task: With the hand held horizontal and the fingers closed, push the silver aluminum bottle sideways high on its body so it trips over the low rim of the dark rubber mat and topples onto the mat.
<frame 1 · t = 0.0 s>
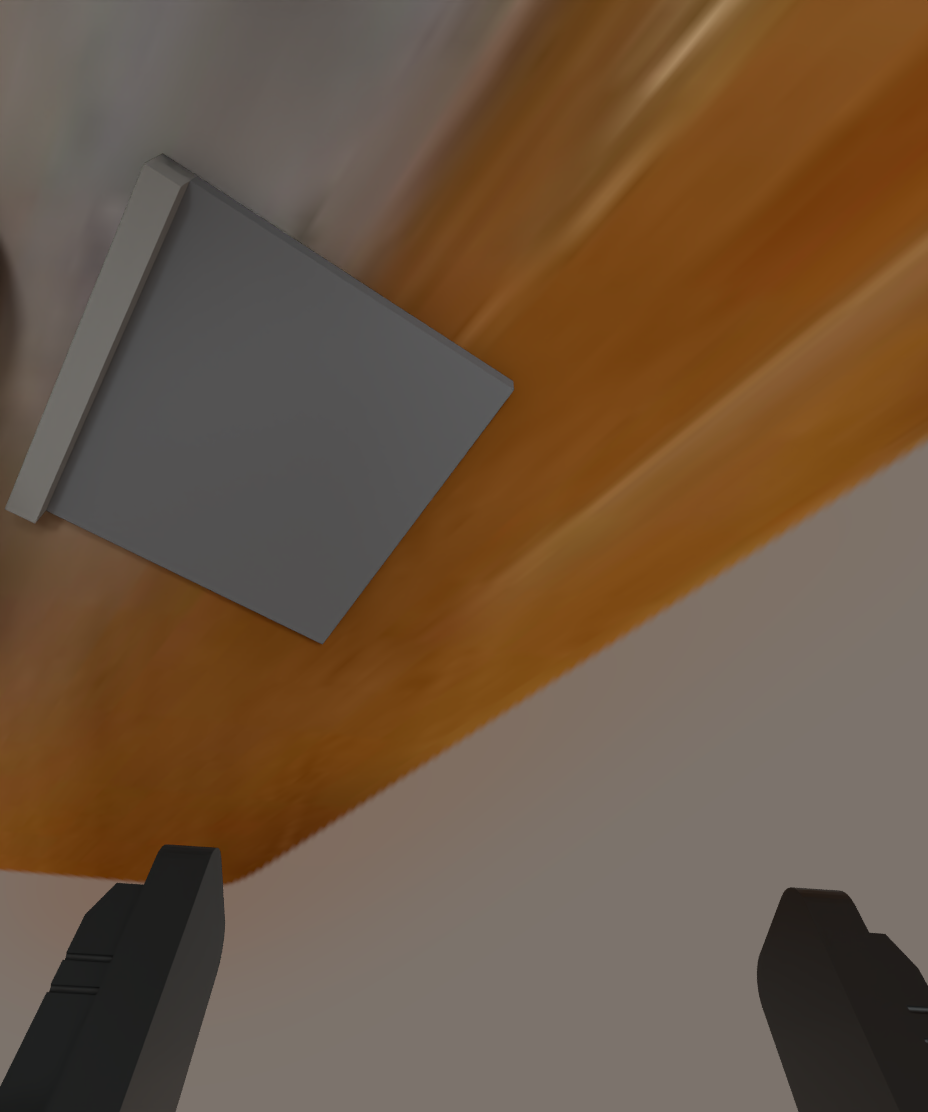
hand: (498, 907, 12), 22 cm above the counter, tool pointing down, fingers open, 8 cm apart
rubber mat: (258, 436, 32), on the counter
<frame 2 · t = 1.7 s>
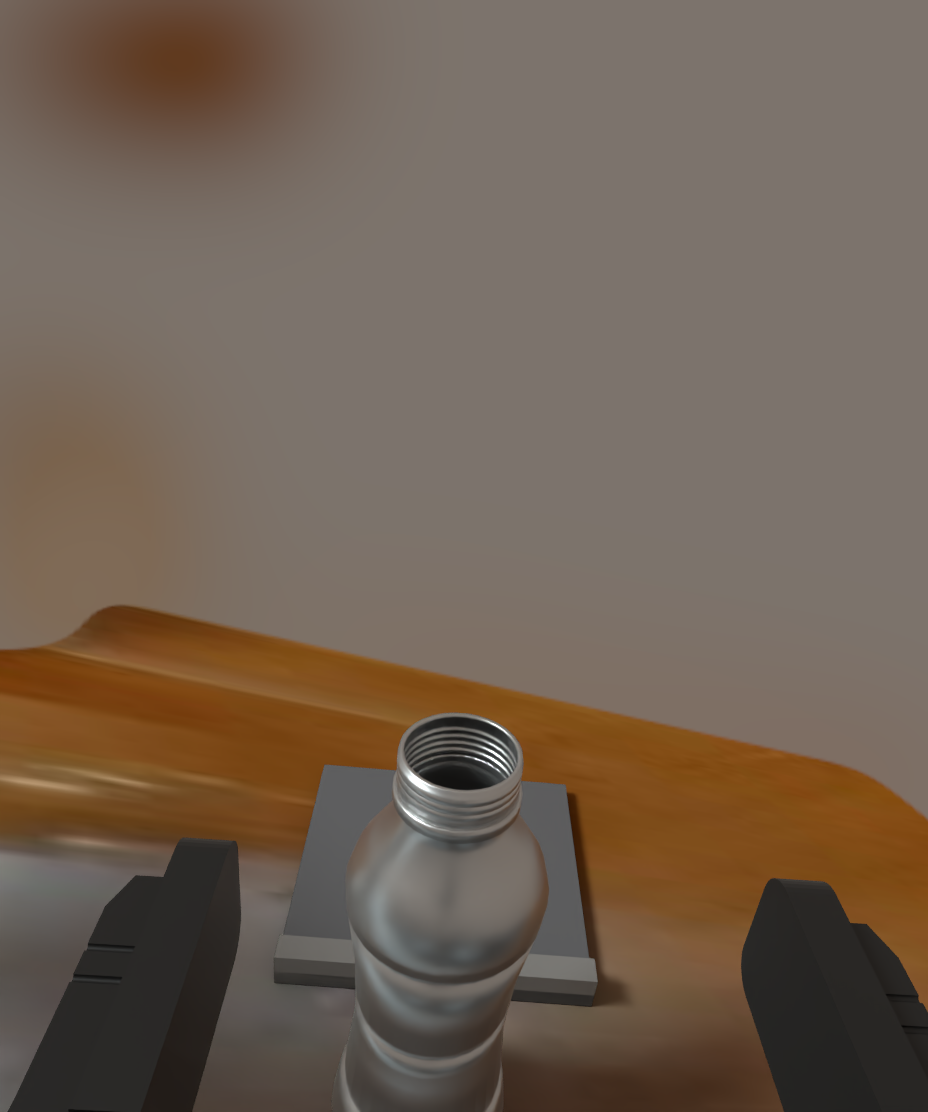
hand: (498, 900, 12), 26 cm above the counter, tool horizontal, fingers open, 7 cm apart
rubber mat: (439, 874, 45), on the counter
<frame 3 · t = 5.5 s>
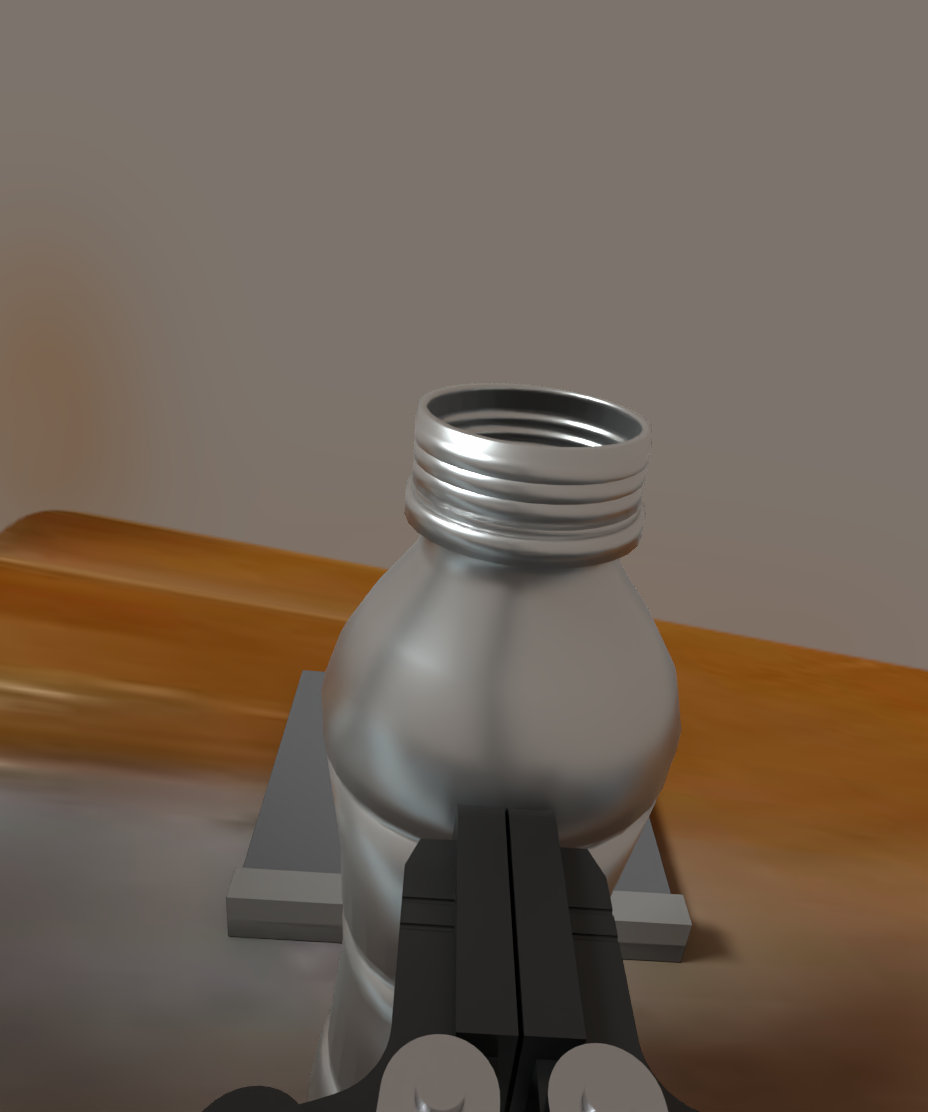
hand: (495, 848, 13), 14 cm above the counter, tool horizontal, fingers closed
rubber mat: (457, 798, 33), on the counter
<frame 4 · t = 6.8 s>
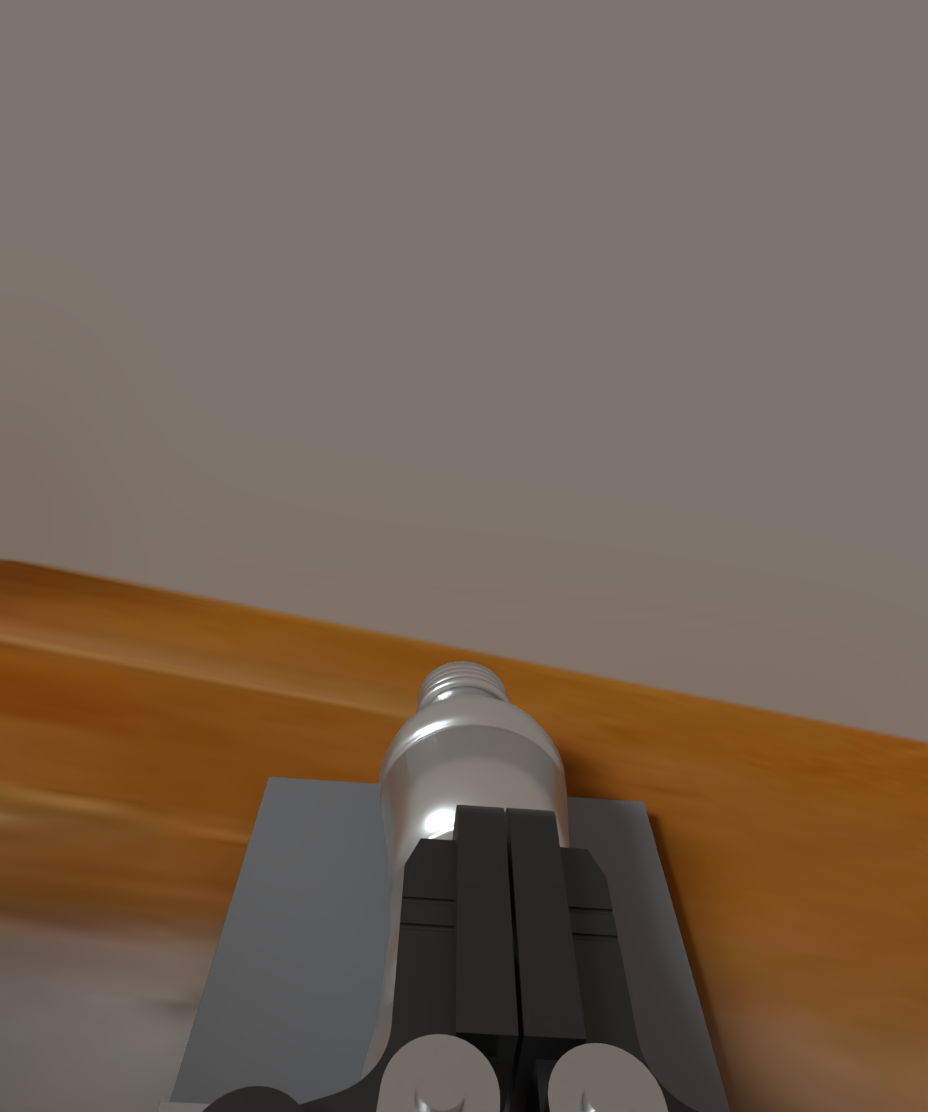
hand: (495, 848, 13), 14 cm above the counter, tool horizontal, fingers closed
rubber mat: (455, 959, 27), on the counter
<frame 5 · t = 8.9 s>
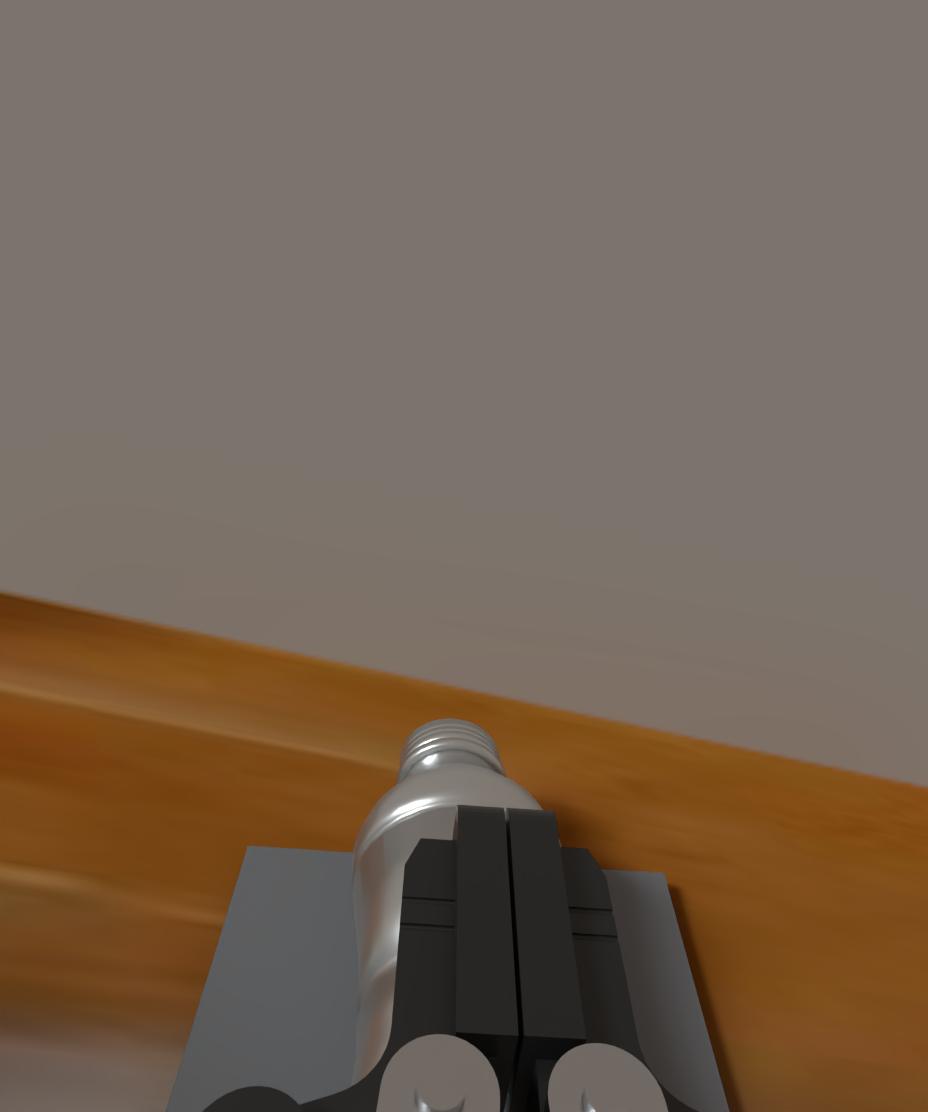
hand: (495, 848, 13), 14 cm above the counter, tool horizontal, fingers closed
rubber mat: (454, 1070, 23), on the counter
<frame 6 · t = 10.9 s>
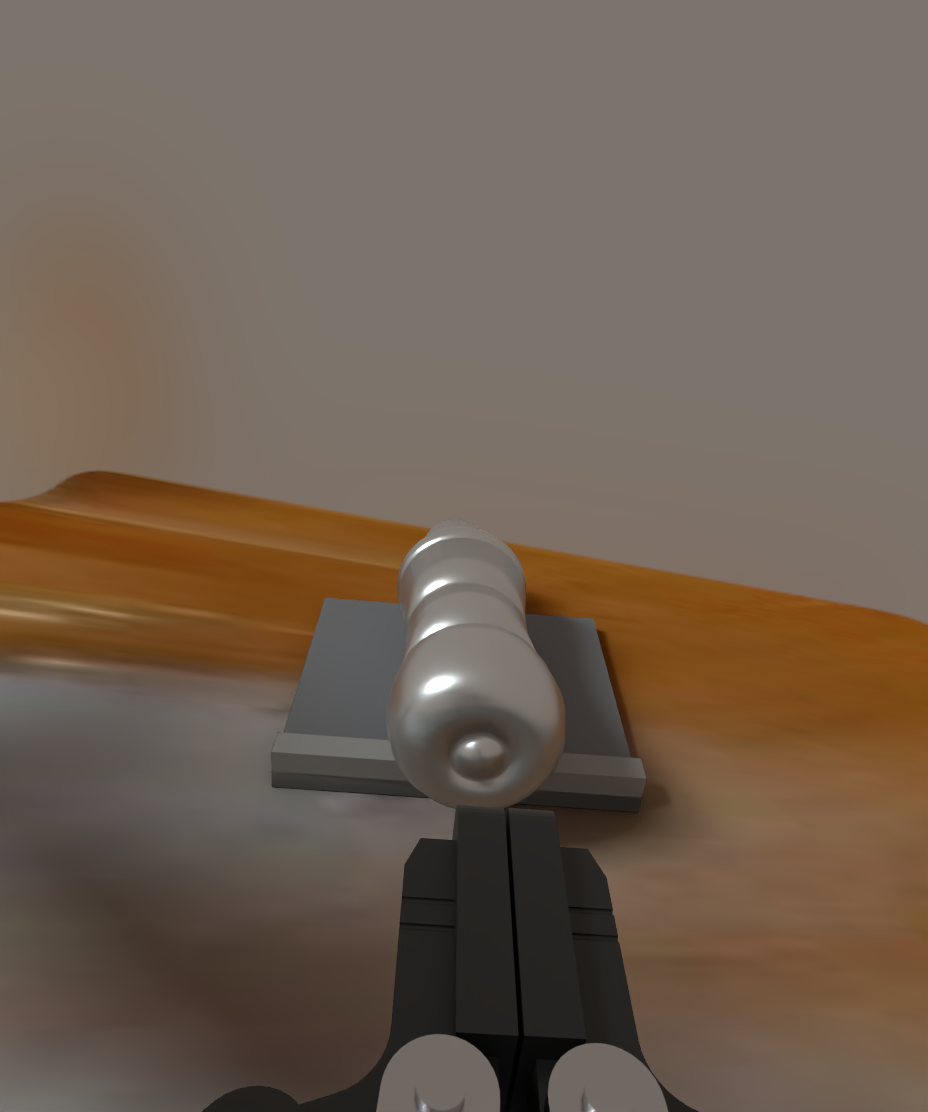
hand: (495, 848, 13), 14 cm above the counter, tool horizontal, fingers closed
silver aluminum bottle: (482, 765, 28), point 5 cm above the counter, touching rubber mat
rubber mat: (458, 695, 39), on the counter
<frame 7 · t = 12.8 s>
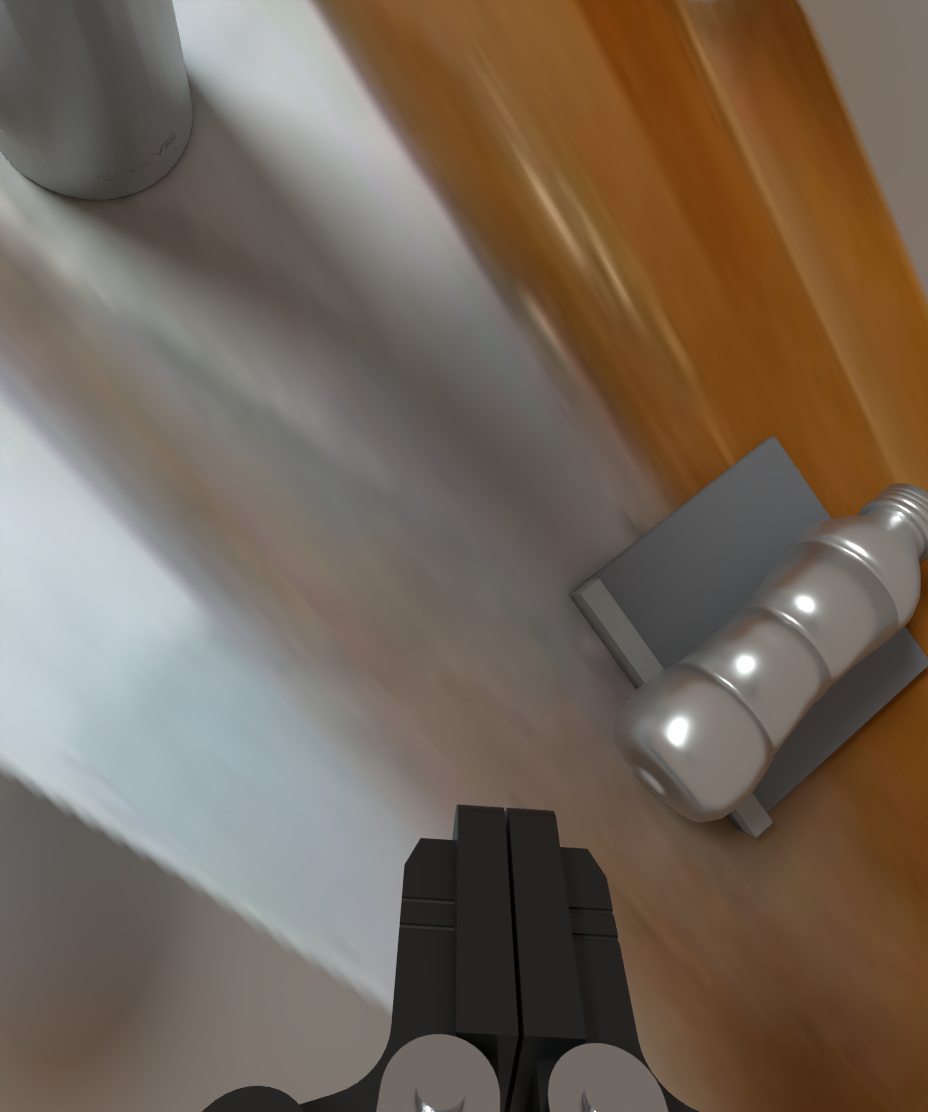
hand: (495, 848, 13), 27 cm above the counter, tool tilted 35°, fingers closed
silver aluminum bottle: (646, 788, 36), point 5 cm above the counter, touching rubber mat
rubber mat: (751, 629, 43), on the counter
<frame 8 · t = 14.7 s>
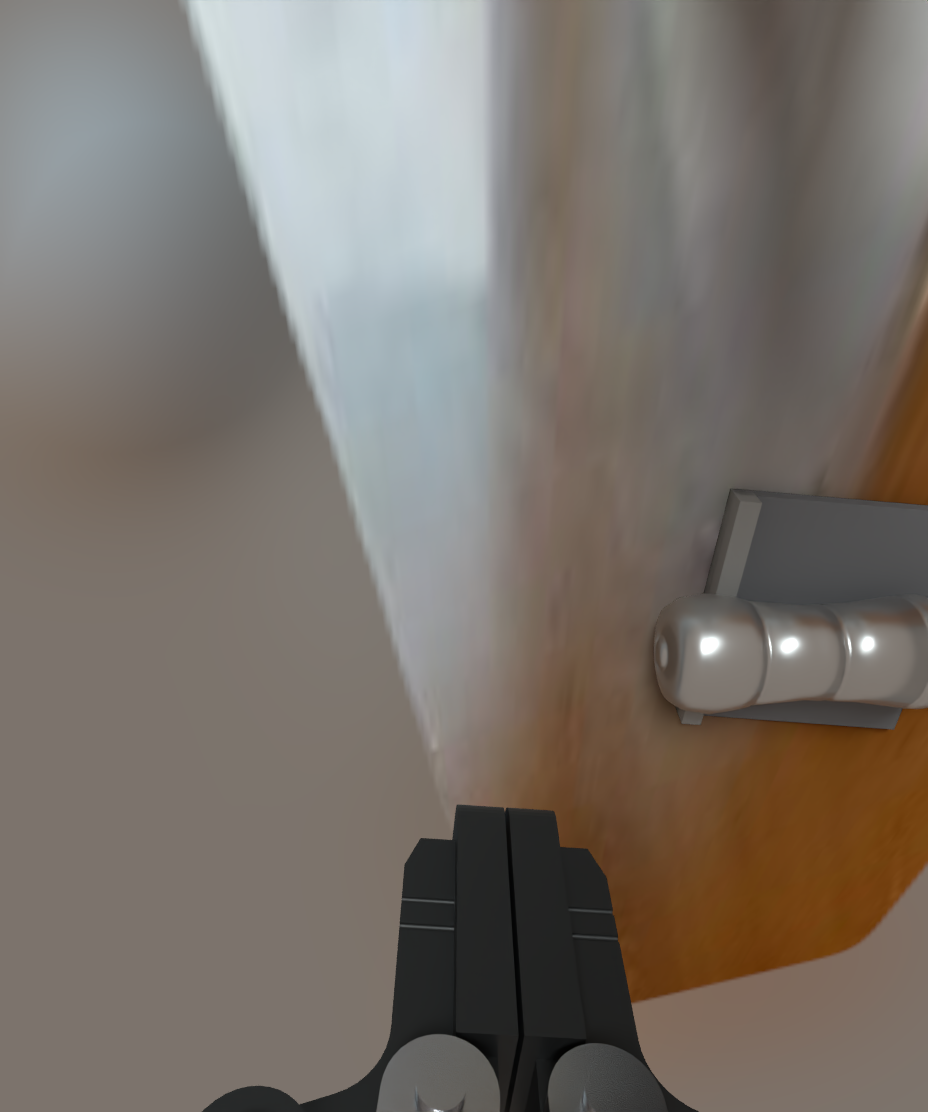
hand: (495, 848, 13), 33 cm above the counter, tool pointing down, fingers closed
silver aluminum bottle: (655, 654, 44), point 5 cm above the counter, touching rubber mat
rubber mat: (815, 613, 49), on the counter
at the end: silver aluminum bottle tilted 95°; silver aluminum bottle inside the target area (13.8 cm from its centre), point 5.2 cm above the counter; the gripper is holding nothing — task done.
